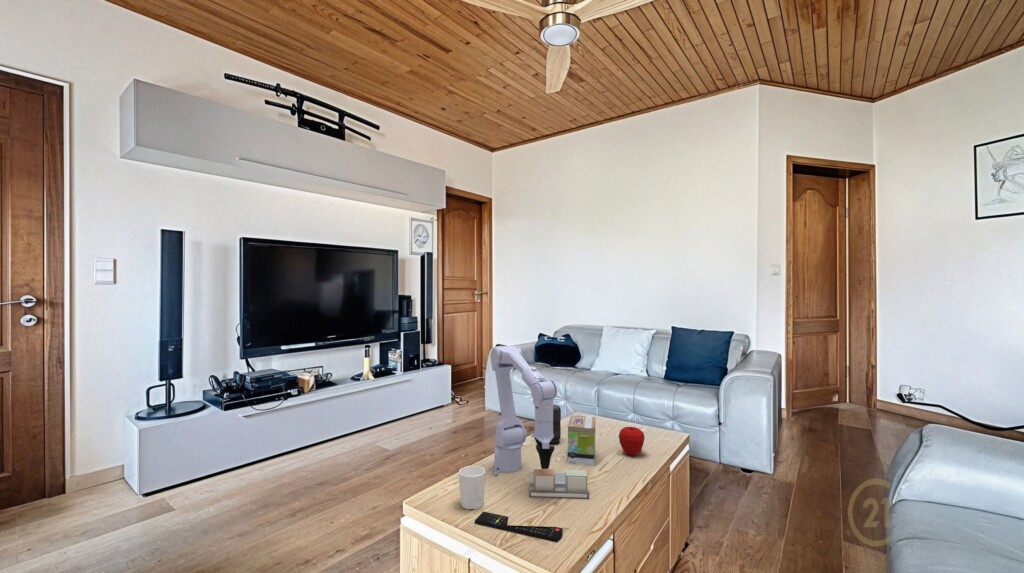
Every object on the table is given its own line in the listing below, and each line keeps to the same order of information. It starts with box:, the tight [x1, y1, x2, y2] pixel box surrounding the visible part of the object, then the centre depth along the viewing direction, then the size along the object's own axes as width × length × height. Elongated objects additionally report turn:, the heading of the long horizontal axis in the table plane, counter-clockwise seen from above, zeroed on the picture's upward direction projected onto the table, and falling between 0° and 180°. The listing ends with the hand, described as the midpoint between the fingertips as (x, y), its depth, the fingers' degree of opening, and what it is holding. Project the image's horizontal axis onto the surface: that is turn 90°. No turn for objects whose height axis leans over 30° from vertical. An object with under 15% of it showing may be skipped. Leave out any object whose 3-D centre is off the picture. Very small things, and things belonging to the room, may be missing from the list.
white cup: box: [458, 465, 486, 510], centre depth 130 cm, size 8×8×10 cm
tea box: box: [566, 415, 596, 466], centre depth 164 cm, size 15×10×15 cm, turn 168°
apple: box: [618, 426, 646, 457], centre depth 169 cm, size 10×10×11 cm
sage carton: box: [564, 469, 588, 492], centre depth 135 cm, size 6×4×6 cm, turn 86°
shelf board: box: [528, 471, 590, 500], centre depth 140 cm, size 18×18×3 cm
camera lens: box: [549, 403, 562, 446], centre depth 182 cm, size 8×8×15 cm
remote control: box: [474, 511, 564, 543], centre depth 117 cm, size 5×24×1 cm, turn 68°
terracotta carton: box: [532, 468, 556, 491], centre depth 136 cm, size 6×4×6 cm, turn 90°
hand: (543, 463), depth 136 cm, fingers open, 7 cm apart
